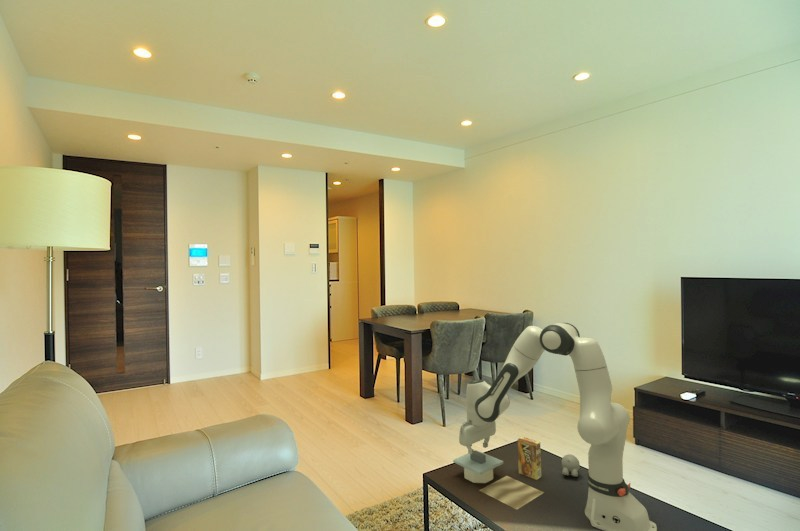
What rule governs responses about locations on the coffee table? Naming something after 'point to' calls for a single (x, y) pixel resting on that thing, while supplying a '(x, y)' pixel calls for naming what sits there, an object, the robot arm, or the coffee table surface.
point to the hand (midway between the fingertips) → (478, 450)
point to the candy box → (529, 458)
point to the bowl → (478, 476)
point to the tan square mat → (511, 492)
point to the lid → (478, 462)
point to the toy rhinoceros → (570, 465)
